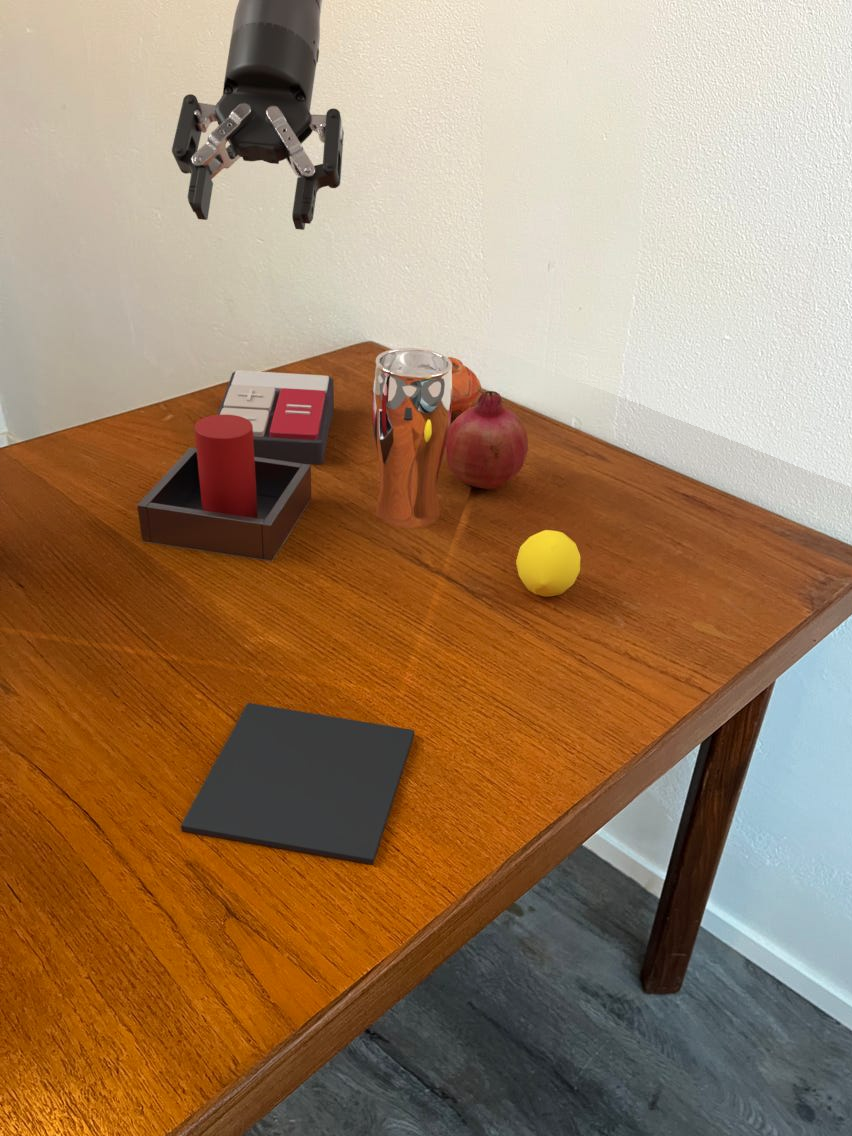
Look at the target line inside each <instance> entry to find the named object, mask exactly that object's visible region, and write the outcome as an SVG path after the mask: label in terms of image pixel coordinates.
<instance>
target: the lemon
mask: <svg viewBox="0 0 852 1136" xmlns="http://www.w3.org/2000/svg"><path fill="white" fill-rule="evenodd" d="M515 564H516V570H517V574H518V577H519V579H520V580H521V582H522V584H523V585H524V587H525V588H526V590H528V591H530V592H531V593H533V594H534V595H537V596H540V597H544V598H545V597H549V598H551V597H555V596H561V595H562V594H564V593H565V592H566V591H568V590H569V589H570V588H571V587H572V586H573V585H574V584H575V582H576V580H577V578H578V576H579V574H580V572H581V554H580V551H579V549H578V546H577V543H576V542H575V541H573V539H571V538H570V537H569V536H568V535H566V533H564V532H562V531H558V530H552V529H551V530H550V529H544V530H542V531H540V532H539V531H538V532H537V533H535V534H533V535H531V536H529V537H528V538H526V540H525V541H524V542H523V543H522V544H521V545H520V547H519V550H518V553H517V557H516V560H515Z"/></svg>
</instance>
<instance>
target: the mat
mask: <svg viewBox="0 0 852 1136" xmlns="http://www.w3.org/2000/svg"><path fill="white" fill-rule="evenodd" d="M414 737H415V730H414V729H411V728H405V727H397V726H392V725H386V724H379V723H374V722H368V721H362V720H356V719H349V718H343V717H337V716H331V715H326V714H325V715H324V714H318V713H313V712H308V711H307V712H305V711H301V710H294V709H288V708H284V707H283V708H282V707H278V706H270V705H265V704H259V703H253V702H252V703H251V702H247V703H246V705H245V707H244V708H243V710H242V712H241V714H240V716H239V717H238V720H237V721H236V723H235V725H234V726H233V728H232V730H231V732H230V734H229V736H228V738H227V740H226V742H225V743H224V745H223V747H222V749H221V750H220V753H219V754H218V756H217V758H216V760H215V762H214V763H213V765H212V767H211V769H210V771H209V772H208V775H207V777H206V778H205V780H204V782H203V783H202V786H201V787H200V789H199V791H198V793H197V795H196V797H195V798H194V800H193V802H192V804H191V806H190V807H189V809H188V811H187V814H186V815H185V816H184V819H183V820H182V822H181V824H180V830H181V832H185V833H190V834H196V835H202V836H208V837H213V838H220V839H225V840H231V841H237V842H241V843H248V844H253V845H258V846H265V847H269V848H275V849H282V850H286V851H287V850H288V851H293V852H299V853H305V854H310V855H316V856H322V857H328V858H331V859H332V858H333V859H338V860H345V861H350V862H355V863H361V864H367V865H374V863H375V860H376V858H377V857H376V856H377V855H378V850H379V847H380V844H381V841H382V838H383V835H384V832H385V828H386V825H387V822H388V819H389V816H390V813H391V810H392V806H393V803H394V799H395V796H396V794H397V790H398V787H399V785H400V782H401V778H402V775H403V772H404V769H405V766H406V764H407V763H406V762H407V760H408V756H409V754H410V750H411V747H412V743H413V740H414Z"/></svg>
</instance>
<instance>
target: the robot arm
mask: <svg viewBox="0 0 852 1136" xmlns="http://www.w3.org/2000/svg"><path fill="white" fill-rule="evenodd" d="M322 5H323V0H238V2H237V5H236V8H235V12H234V17H233V22H232V29H231V36H230V42H229V43H230V44H229V49H228V54H227V55H228V56H227V62H226V68H225V75H224V82H223V88H222V89H223V90H222V95H221V97H220V99H219V100H218V101H217V102H216V104H210V103H204V102H199V101H198V98H197V96H196V95H195V94H187V95H185V96H184V97H183V99H182V104H181V107H180V108H181V109H180V112H179V117H178V121H177V125H176V129H175V134H174V138H173V143H172V147H171V153H172V155H173V157H174V160H175V162H176V164H177V165H178V168H179V170H180V172H181V173H183V174H185V175H186V174H187V175H188V174H190V179H189V184H188V191H187V201H188V204H189V206H190V208H191V210H192V212H193V213H194V214H195V215H196V218H197V219H198V220H202V221H207V220H208V219H209V213H210V206H211V200H212V194H213V187H214V181H213V179H214V178H215V177H216V176H217V175H218V174H219V173H221V171H222V170H224V169H229V168H230V167H232V166H233V165H234V164H235V163H236V162H237V161H238V160H239V159H240V158H242V159H243V160H242V161H244V162H257V161H263V162H265V163H268V164H275V165H279V164H280V162H281V161H286V162H287V163H288V165H289V166H290V168H291V170H292V171H293V173H294V174H295V175H296V176H297V179H296V185H295V193H294V200H293V206H292V215H291V216H292V218H291V219H292V223H293V226H294V229H295V230H301V231H304V230H305V228H306V224H309V225H311V223H312V221H313V219H314V214H315V208H316V200H317V193H318V192H319V190H320V189H322V188H326V187H329V188H330V189H337V188H338V187H339V186H340V185H341V181H342V179H341V178H342V165H343V164H342V163H343V151H344V150H343V149H344V135H345V131H344V126H343V121H342V115H341V112H340V111H339V110H338V109H337V108H334V107H333V108H330V109H327V111H326V114H311V112H310V111H311V105H312V98H313V90H314V84H315V77H316V69H317V64H318V62H319V55H320V39H321V11H322ZM214 122H217V125H218V126H217V127H216V128H215V129H213V131H211V132H210V133H209V134H208V137H207V140H206V142H205V143H204V144H203V145H202V146H201V147H199V145H200V141H201V137H202V133H207V131H208V129H209V126H210V125H211V124H212V123H214ZM313 132H315V133H316V134H318V135H317V136H318V139H319V141H320V142H321V143H323V158H322V163H319V164H316V165H314V164H313V162H312V161H311V159H310V158H309V156H308V155H307V153H306V151H305V149H304V146H303V145H302V144H303V143H304V142H305V141H306V140H307V139H308V138H309V137H310V136H311V135H312V133H313ZM227 142H228V143H229V145H227V147H226V144H227Z"/></svg>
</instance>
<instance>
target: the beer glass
mask: <svg viewBox="0 0 852 1136" xmlns="http://www.w3.org/2000/svg"><path fill="white" fill-rule="evenodd" d="M374 367H375V368H374V377H373V386H372V402H371V403H372V404H371V411H372V413H371V414H372V415H371V417H372V428H373V436H374V443H375V449H376V454H377V456H376V457H377V461H378V469H379V489H378V494H377V499H376V504H375V507H374V512H375V515H376V517H377V518H378V519H379V520H380V521H381V522H383V523H385V524H387V525H390V526H392V527H397V528H402V529H403V528H404V529H417V528H423V527H427V526H429V525H432V524H433V523H435V522H437V521H438V519H439V518H440V515H441V510H440V503H439V497H438V487H439V486H438V481H439V475H440V470H441V467H442V462H443V458H444V454H445V452H446V443H447V439H448V434H449V428H450V425H451V423H452V422H451V420H452V412H453V411H452V362H451V361H450V360H449V359H448V357H447V356H446V355H444V354H442V353H439V352H437V351H433V350H429V349H426V348H425V349H424V348H416V347H400V348H392V349H388V350H385V351H383V352H380V353H379V354H378V355H377V356H376V357H375V366H374Z"/></svg>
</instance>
